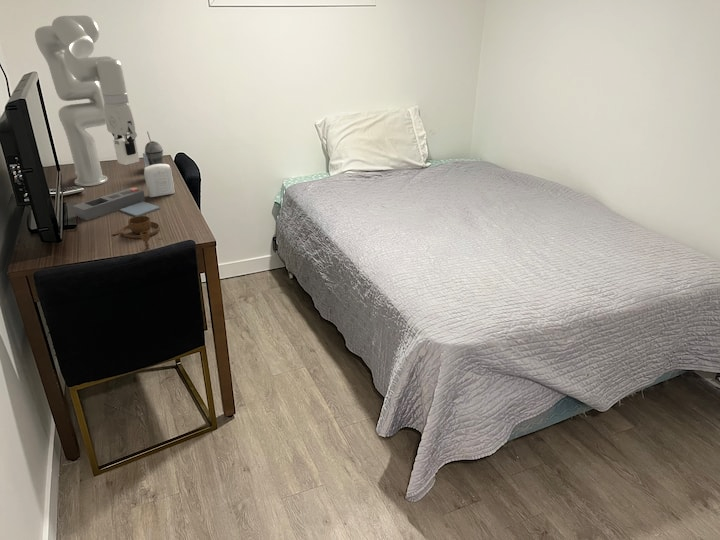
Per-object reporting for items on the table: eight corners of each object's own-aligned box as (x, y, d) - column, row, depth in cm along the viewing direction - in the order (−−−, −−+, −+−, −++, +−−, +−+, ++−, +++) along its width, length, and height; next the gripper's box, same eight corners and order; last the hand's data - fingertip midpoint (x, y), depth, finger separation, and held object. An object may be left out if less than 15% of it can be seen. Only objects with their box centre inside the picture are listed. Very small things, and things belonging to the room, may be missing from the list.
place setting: (174, 226, 179) (171, 210, 176) (152, 251, 162) (148, 234, 159) (124, 225, 179) (120, 209, 177) (97, 250, 162) (92, 233, 159)
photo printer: (173, 190, 209) (168, 161, 204) (176, 193, 206) (171, 163, 200) (147, 195, 204) (141, 165, 198) (149, 198, 201) (143, 167, 195)
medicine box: (155, 172, 230) (152, 153, 226) (146, 172, 230) (142, 153, 226) (162, 167, 237) (158, 148, 233) (152, 166, 237) (149, 148, 233)
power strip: (75, 216, 185) (72, 204, 183) (134, 197, 203) (131, 186, 200) (86, 220, 182) (83, 208, 179) (145, 200, 199) (143, 189, 197)
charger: (117, 163, 181) (112, 140, 177) (132, 159, 185) (127, 136, 181) (124, 165, 179) (120, 142, 175) (139, 161, 183) (135, 138, 179)
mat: (120, 211, 190) (119, 209, 189) (143, 203, 197) (143, 201, 197) (136, 217, 185) (136, 215, 185) (160, 208, 192) (160, 207, 192)
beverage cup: (170, 177, 224) (162, 131, 215) (154, 181, 220) (146, 134, 210) (162, 173, 229) (154, 128, 219) (146, 177, 224) (137, 131, 214)
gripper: (90, 98, 173) (103, 151, 182) (120, 103, 165) (132, 159, 174) (111, 95, 179) (122, 147, 188) (141, 100, 171) (151, 154, 179)
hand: (127, 152), depth 181 cm, fingers closed on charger, 4 cm apart
